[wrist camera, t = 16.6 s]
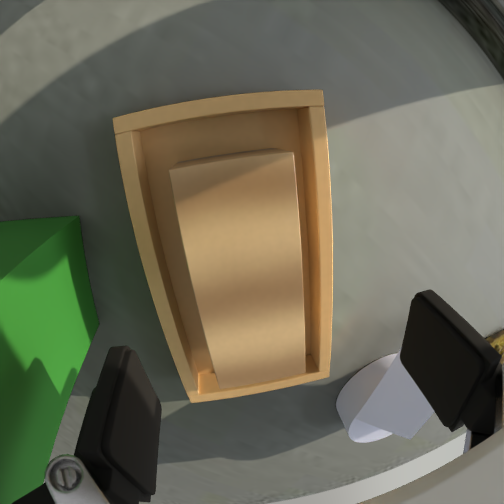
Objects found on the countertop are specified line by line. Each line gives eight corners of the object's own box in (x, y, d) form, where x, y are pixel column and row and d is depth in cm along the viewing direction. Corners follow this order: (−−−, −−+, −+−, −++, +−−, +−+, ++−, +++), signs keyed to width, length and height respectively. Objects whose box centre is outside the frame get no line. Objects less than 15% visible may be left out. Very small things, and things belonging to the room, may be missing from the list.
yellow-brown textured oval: (520, 319, 29) (470, 330, 26) (542, 332, 24) (498, 349, 21) (497, 373, 31) (440, 396, 28) (515, 388, 27) (461, 418, 24)
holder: (126, 120, 14) (112, 118, 11) (305, 95, 15) (322, 89, 12) (190, 377, 20) (190, 403, 18) (317, 354, 21) (329, 377, 19)
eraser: (176, 161, 14) (168, 169, 11) (274, 147, 15) (293, 151, 12) (216, 350, 19) (219, 389, 16) (290, 336, 20) (305, 372, 16)
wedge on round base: (384, 311, 21) (321, 421, 25) (433, 366, 15) (343, 476, 19) (451, 317, 23) (389, 413, 27) (495, 359, 17) (415, 457, 21)
